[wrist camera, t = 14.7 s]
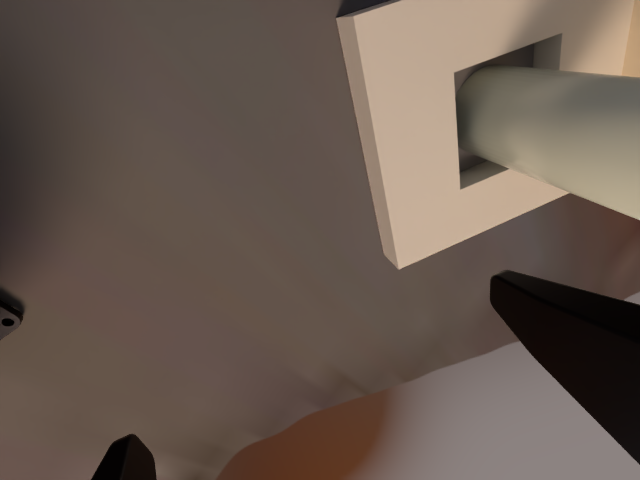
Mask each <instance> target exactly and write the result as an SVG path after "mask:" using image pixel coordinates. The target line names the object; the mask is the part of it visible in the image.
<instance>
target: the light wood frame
mask: <svg viewBox="0 0 640 480" xmlns="http://www.w3.org/2000/svg"><path fill="white" fill-rule="evenodd" d="M336 20H337V25H338V30H339V35H340V40H341V45H342V50H343V55H344V60H345V65H346V70H347V75H348V80H349V85H350V90H351V94H352V99H353V104H354V109H355V114H356V119H357V124H358V129H359V134H360V139H361V144H362V149H363V154H364V159H365V164H366V169H367V174H368V179H369V184H370V188H371V193H372V198H373V203H374V208H375V213H376V218H377V223H378V228H379V233H380V238H381V243H382V248H383V253H384V255H385V256H386V257H387V258H388V259H389V260H390V261H391V262H392V263H393V264H394V265H395V266H396V267H397V268H398V269H401V268H403V267H405V266H407V265H410V264H412V263H414V262H416V261H419V260H421V259H423V258H425V257H428V256H430V255H432V254H434V253H436V252H439V251H441V250H443V249H445V248H448V247H450V246H452V245H454V244H456V243H459V242H461V241H463V240H465V239H468V238H470V237H472V236H474V235H477V234H479V233H481V232H483V231H485V230H488V229H490V228H492V227H494V226H497V225H499V224H501V223H503V222H505V221H508V220H510V219H512V218H514V217H517V216H519V215H521V214H523V213H526V212H528V211H530V210H532V209H534V208H537V207H539V206H541V205H543V204H546V203H548V202H550V201H552V200H554V199H557V198H559V197H561V196H563V195H566V194H568V193H570V192H567V191H565V190H562V189H560V188H557V187H555V186H552V185H550V184H547V183H544V182H542V181H539V180H537V179H534V178H532V177H529V176H527V175H524V174H522V173H519V172H517V171H514V170H512V169H509V168H506V167H504V166H501V165H499V164H496V163H494V162H491V161H489V160H486V159H484V158H481V157H479V156H476V155H474V154H471V153H468V152H466V151H464V150H462V149H461V148H459V147H458V138H457V121H456V103H455V96H456V94H457V93H458V91H459V89H460V88H461V86H462V85H463V83H464V82H465V81H466V80H467V79H468V78H469V77H470V76H471V75H472V74H473V73H475V72H476V71H478V70H479V69H481V68H483V67H486V66H489V65H507V66H518V67H529V68H540V69H552V70H563V71H574V72H585V73H596V74H607V75H619V76H630V77H640V0H390V1H387V2H384V3H381V4H378V5H375V6H372V7H369V8H365V9H362V10H359V11H356V12H353V13H350V14H347V15H344V16H341V17H338V18H336Z"/></svg>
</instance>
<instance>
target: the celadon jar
mask: <svg viewBox="0 0 640 480" xmlns="http://www.w3.org/2000/svg"><path fill="white" fill-rule="evenodd" d="M455 103H456V121H457V138H458V147H459V148H461V149H462V150H464V151H466V152H468V153H471V154H474V155H476V156H479V157H481V158H484V159H486V160H489V161H491V162H494V163H496V164H499V165H501V166H504V167H506V168H509V169H512V170H514V171H517V172H519V173H522V174H524V175H527V176H529V177H532V178H534V179H537V180H539V181H542V182H544V183H547V184H550V185H552V186H555V187H557V188H560V189H562V190H565V191H567V192H570V193H572V194H575V195H577V196H580V197H583V198H585V199H588V200H590V201H593V202H595V203H598V204H600V205H603V206H605V207H608V208H610V209H613V210H615V211H618V212H621V213H623V214H626V215H628V216H631V217H633V218H636V219H638V220H640V77H630V76H619V75H607V74H596V73H585V72H574V71H563V70H552V69H540V68H529V67H518V66H507V65H489V66H486V67H483V68H481V69H479V70H478V71H476V72H475V73H473V74H472V75H471V76H470V77H469V78H468V79H467V80H466V81H465V82H464V83H463V85H462V86H461V88H460V89H459V91H458V93H457V94H456V96H455Z"/></svg>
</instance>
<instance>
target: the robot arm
mask: <svg viewBox="0 0 640 480" xmlns="http://www.w3.org/2000/svg"><path fill="white" fill-rule="evenodd" d="M490 302H491V304H492V306H493V308H494V309H495V311H496V312H497V313H498V314H499V316H500V317H501V318H502V319H503V320H504V322H505V323H506V324H507V325H508V327H509V328H510V329H511V330H512V332H513V333H514V334H515V335H516V337H517V338H518V339H519V340H520V341H521V343H522V344H523V345H524V346H525V348H526V349H527V350H528V351H529V352H530V353H531V355H532V356H533V357H534V358H535V359H536V360H537V361H538V362H539V363H540V364H541V365H542V366H543V367H544V368H545V369H546V370H547V371H548V372H549V373H550V374H551V375H552V376H553V377H554V378H555V379H556V380H557V381H558V382H559V383H560V384H561V385H562V386H563V388H564V389H565V390H566V391H568V392H569V394H570V395H571V396H572V397H573V398H575V400H576V401H577V402H578V403H579V404H580V405H581V406H582V407H583V408H584V409H585V410H586V411H587V412H588V413H589V414H590V415H591V416H592V417H593V418H594V419H595V420H596V421H597V422H598V423H599V424H600V425H601V426H602V427H603V428H604V429H605V430H606V431H607V432H608V433H609V434H610V435H611V436H612V437H613V438H614V439H615V440H616V441H617V442H618V443H619V444H620V445H621V446H622V447H623V448H624V449H625V450H626V451H627V452H628V453H629V454H630V455H631V456H632V457H633V458H634V459H635V460H636V461H637V462H638V463H639V464H640V305H639V304H635V303H631V302H627V301H624V300H620V299H616V298H613V297H609V296H605V295H601V294H597V293H594V292H590V291H586V290H582V289H579V288H575V287H571V286H567V285H563V284H560V283H556V282H552V281H548V280H545V279H541V278H537V277H533V276H529V275H526V274H522V273H518V272H514V271H510V270H504V271H501V272H499V273H497V274H494V275H493V276H492V277H491V280H490ZM5 318H10V319H12V320H13V321H7V320H6V319H5ZM22 320H23V315H22V314H21V313H20V312H19V311H18V310H16V309H14V308H13V307H11V306H10V305H8V304H6V303H5V302H3V301H2V300H0V340H1V339H2V338H4V337H5V336H7V335H8V334H10V333H11V332H12V331H14V330H15V329H17V328H18V327H19V326H20V324H21V322H22ZM91 480H157V479H156V470H155V462H154V458H153V455H152V453H151V452H150V451H149V449H148V448H147V447H146V446H145V445H144V444H143V443H142V441H141V440H140V439H139V438H138V437H137V436H136V435H134V434H129V435H127V436H125V437H122V438H120V439H118V440H116V441H114V442H113V443H112V444H111V445H110V447H109V449H108V451H107V452H106V454H105V456H104V458H103V459H102V461H101V463H100V465H99V466H98V468H97V470H96V472H95V473H94V475H93V477H92V479H91Z"/></svg>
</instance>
